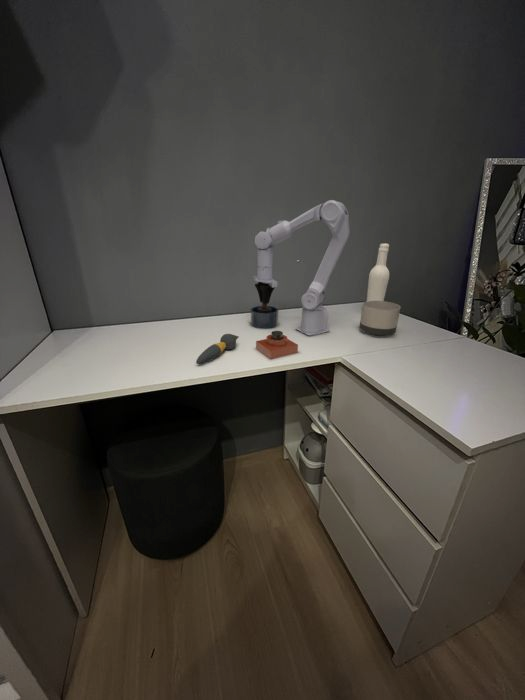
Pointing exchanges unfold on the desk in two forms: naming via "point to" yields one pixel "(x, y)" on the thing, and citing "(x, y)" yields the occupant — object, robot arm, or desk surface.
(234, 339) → the paintbrush
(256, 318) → the dark blue round bowl
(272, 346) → the knobbed square stamp
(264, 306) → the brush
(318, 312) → the robot arm
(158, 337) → the desk surface
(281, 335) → the pump button
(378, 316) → the planter
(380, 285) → the bottle
